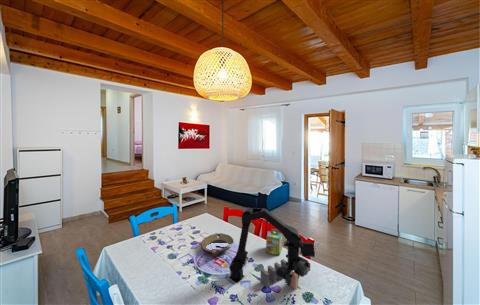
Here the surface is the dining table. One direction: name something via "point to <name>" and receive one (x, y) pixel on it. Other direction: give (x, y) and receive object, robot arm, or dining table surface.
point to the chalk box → (274, 242)
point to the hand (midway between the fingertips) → (293, 282)
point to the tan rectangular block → (294, 280)
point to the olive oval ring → (214, 239)
